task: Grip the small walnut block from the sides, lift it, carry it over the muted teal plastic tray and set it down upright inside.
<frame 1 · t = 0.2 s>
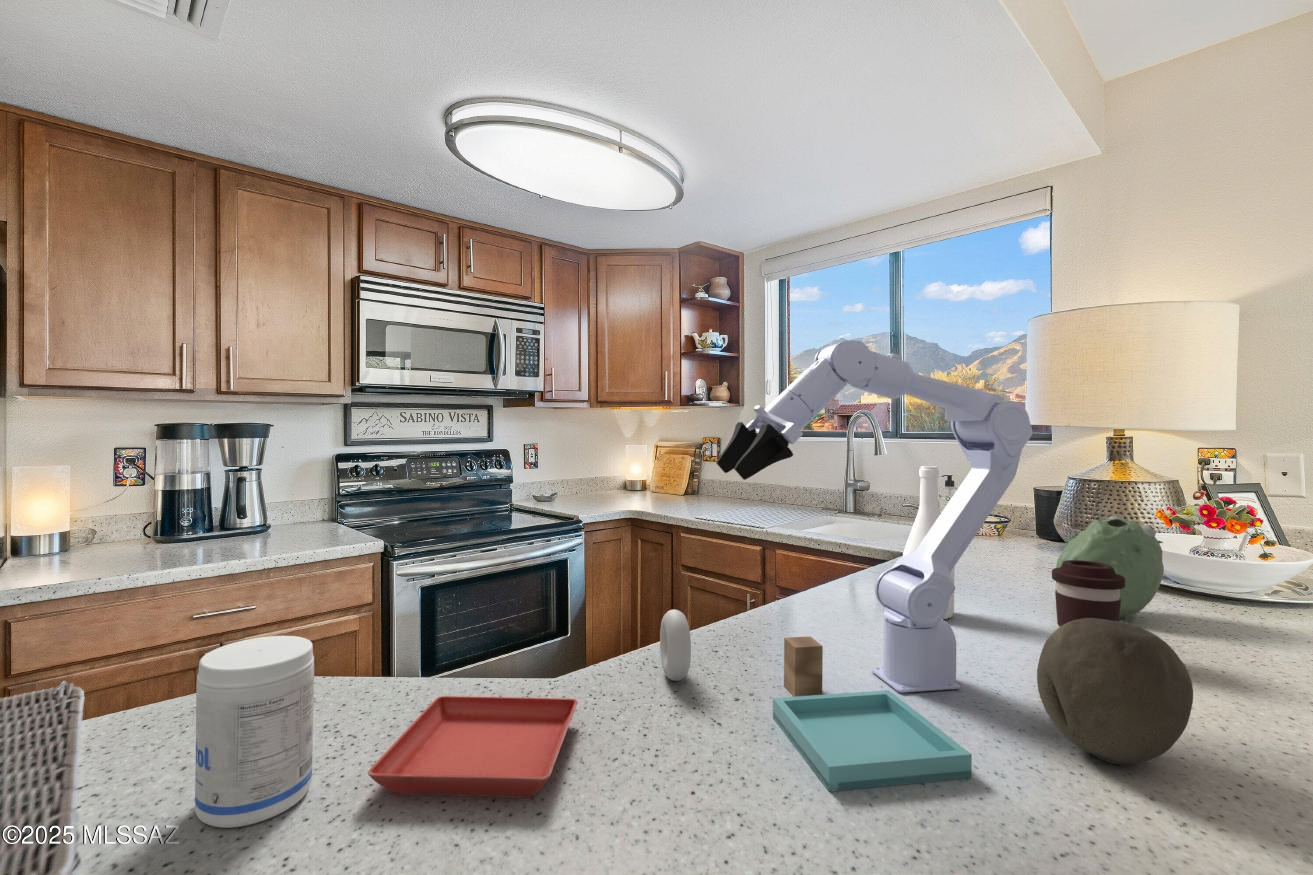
hand: (729, 471, 83), 31 cm above the countertop, tool tilted 45°, fingers open, 7 cm apart
block: (802, 691, 84), on the countertop
supplement tub: (256, 802, 58), on the countertop
coffee cup: (1086, 654, 100), on the countertop
grey river stone: (1109, 755, 68), on the countertop
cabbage: (1108, 616, 121), on the countertop
plant saucer: (485, 761, 67), on the countertop
donut: (674, 679, 89), on the countertop
tray: (862, 744, 70), on the countertop
wine bottle: (927, 615, 121), on the countertop
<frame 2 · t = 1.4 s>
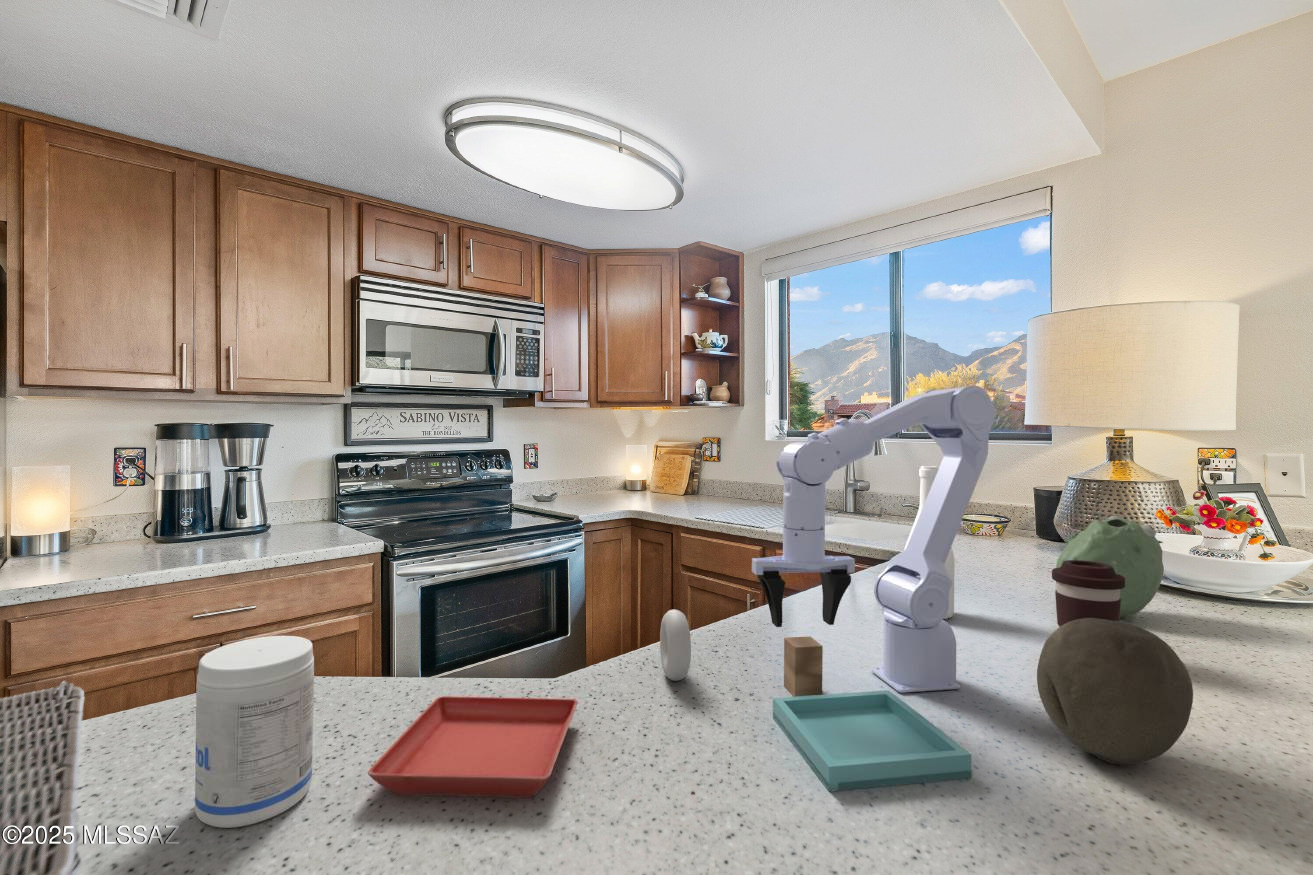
hand: (802, 623, 84), 9 cm above the countertop, tool pointing down, fingers open, 7 cm apart
nothing on the countertop moved.
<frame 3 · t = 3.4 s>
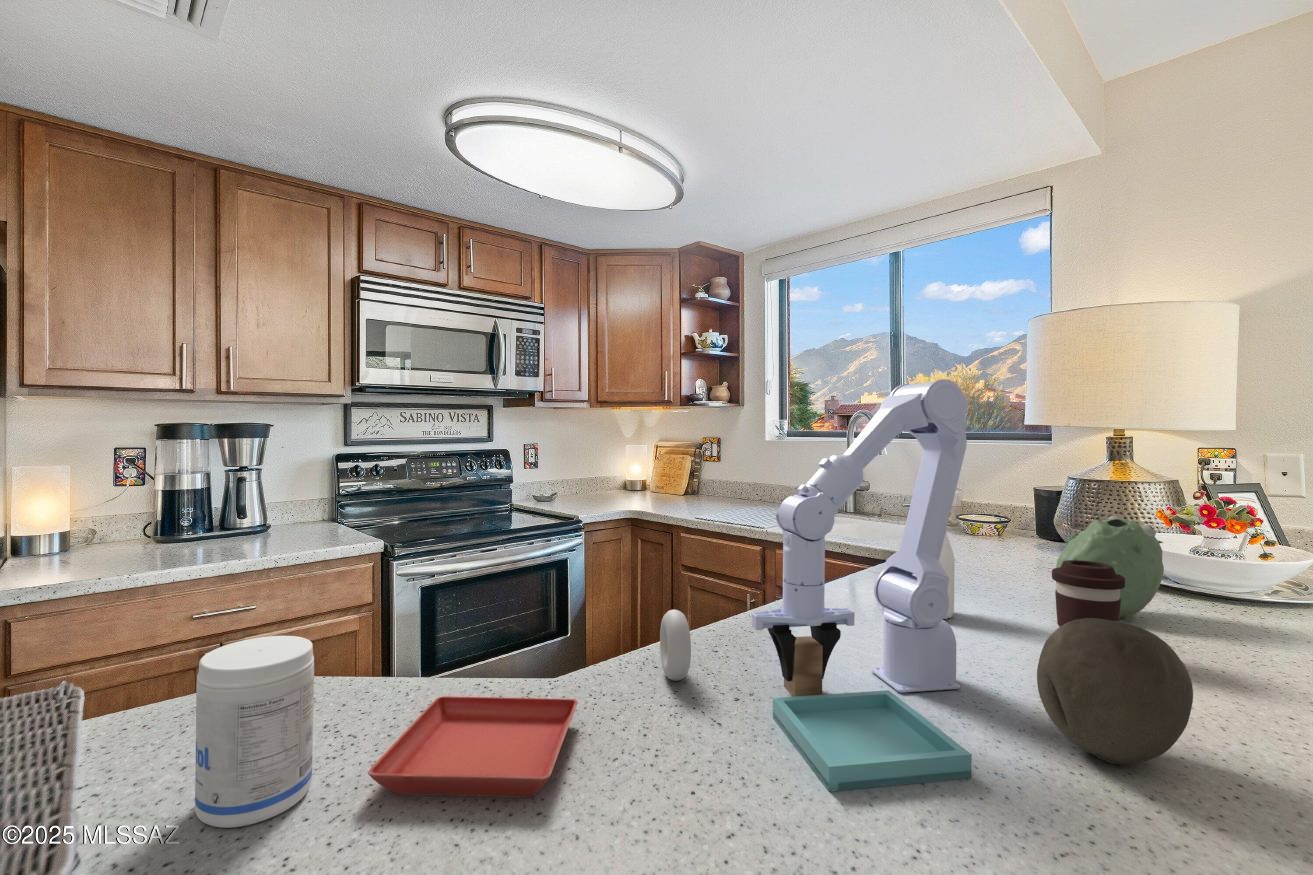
hand: (802, 677, 84), 2 cm above the countertop, tool pointing down, fingers closed on block, 4 cm apart
block: (802, 691, 84), on the countertop, touching gripper
everything else where it was.
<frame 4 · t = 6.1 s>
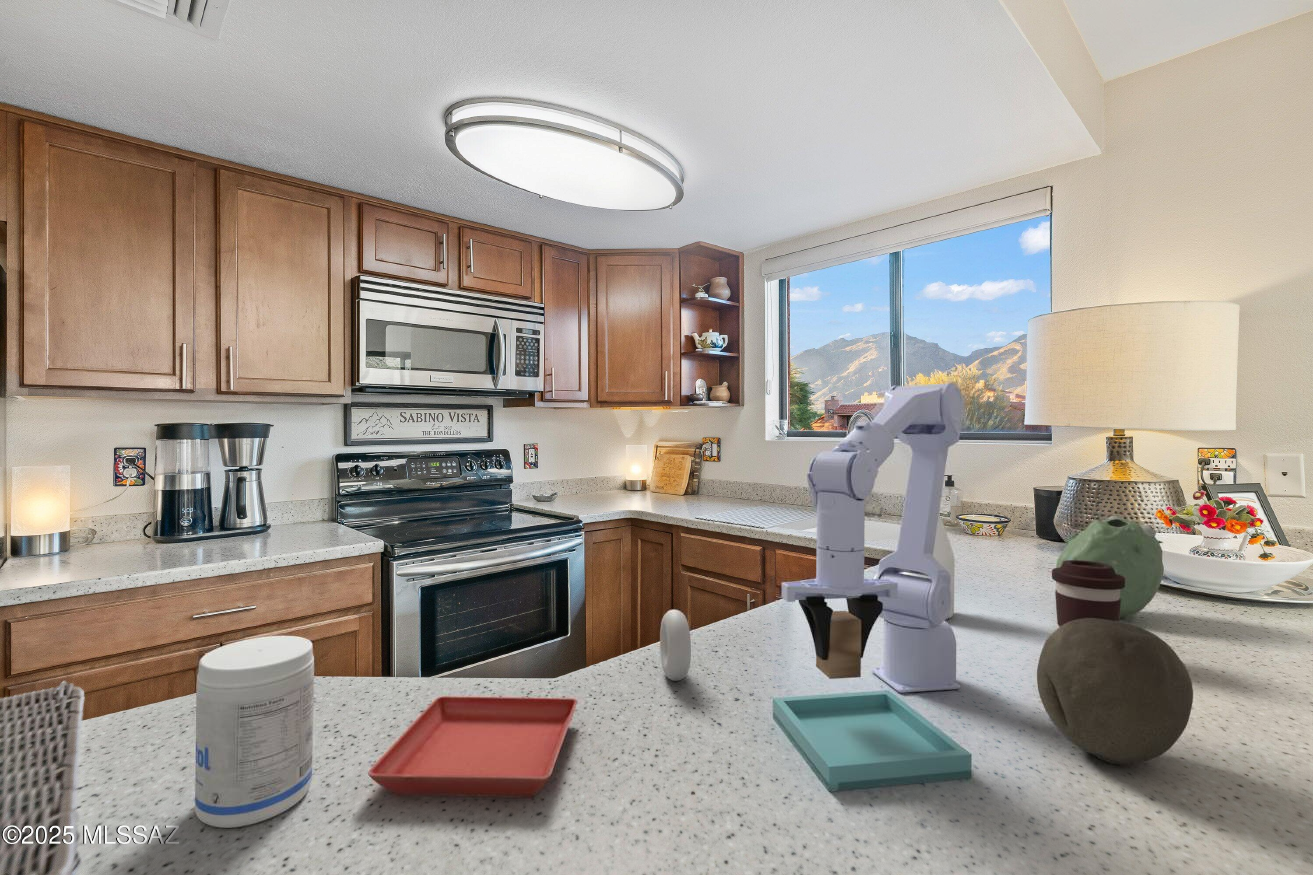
hand: (839, 656, 75), 8 cm above the countertop, tool pointing down, fingers closed on block, 4 cm apart
block: (837, 671, 75), point 6 cm above the countertop, touching gripper
everything else where it was.
when the fingers open (3 cm above the countertop, at t = 8.7 s): block stays where it is, resting on tray.
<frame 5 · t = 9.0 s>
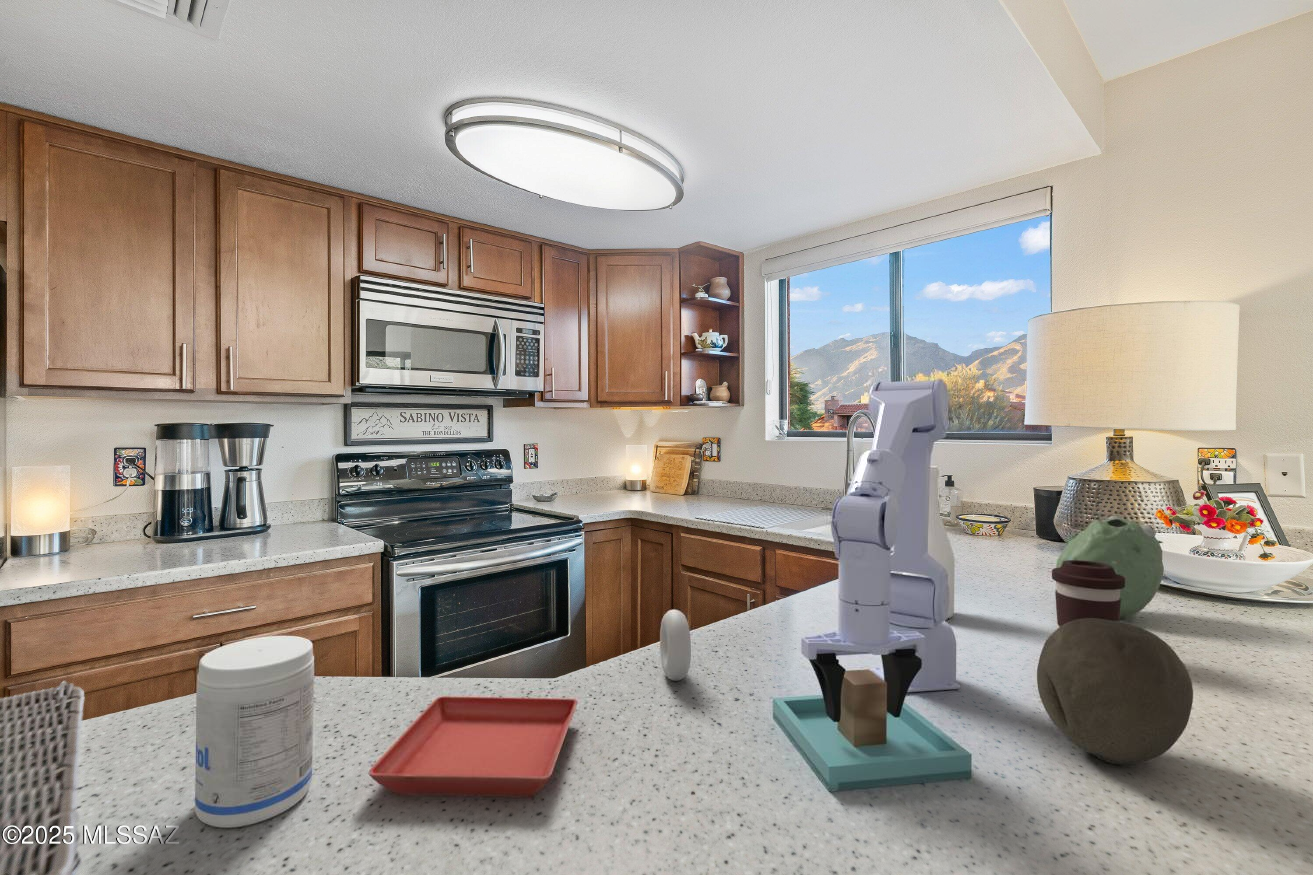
hand: (863, 715, 70), 3 cm above the countertop, tool pointing down, fingers open, 7 cm apart
block: (861, 736, 70), point 1 cm above the countertop, touching tray
everything else where it was.
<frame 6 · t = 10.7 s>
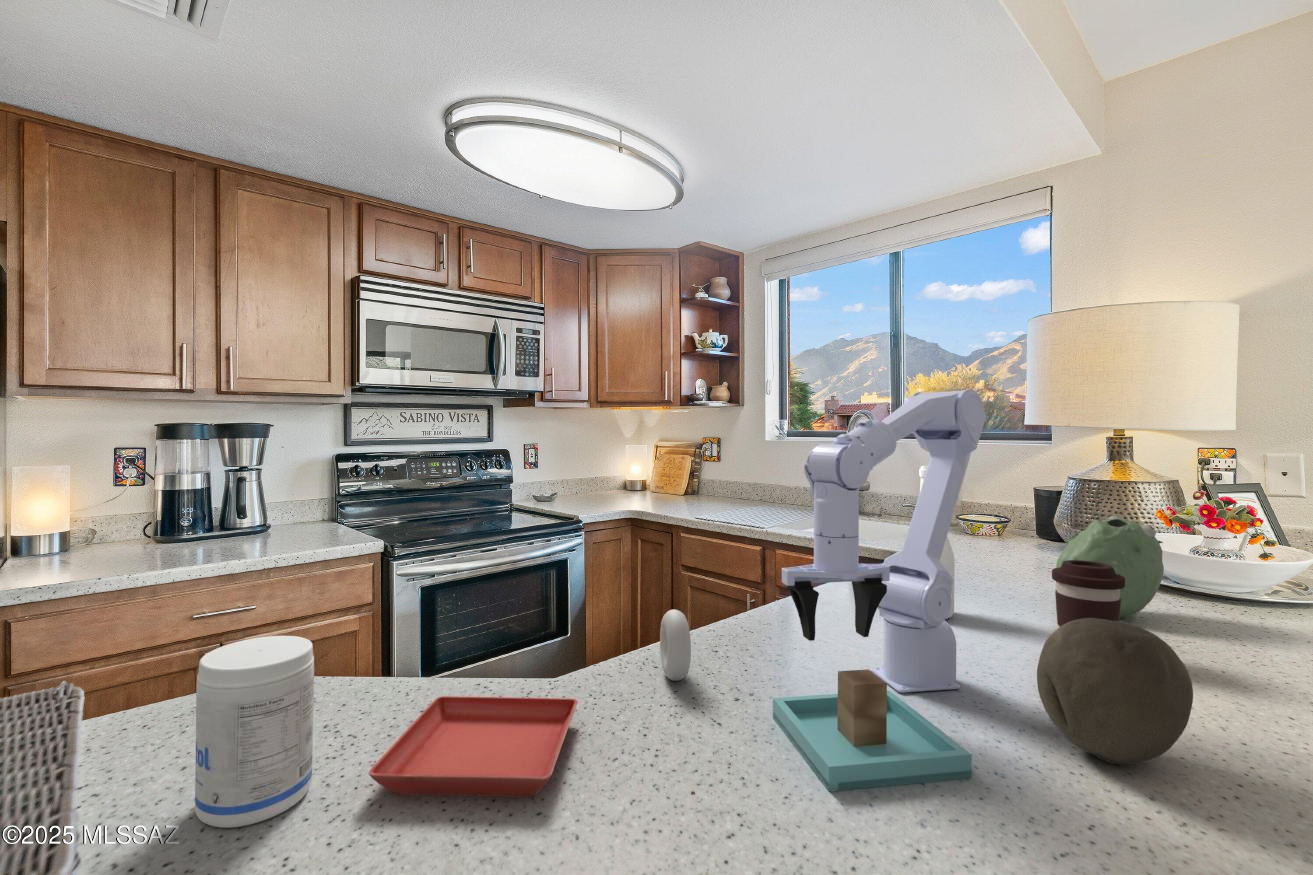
hand: (835, 636, 80), 9 cm above the countertop, tool pointing down, fingers open, 7 cm apart
nothing on the countertop moved.
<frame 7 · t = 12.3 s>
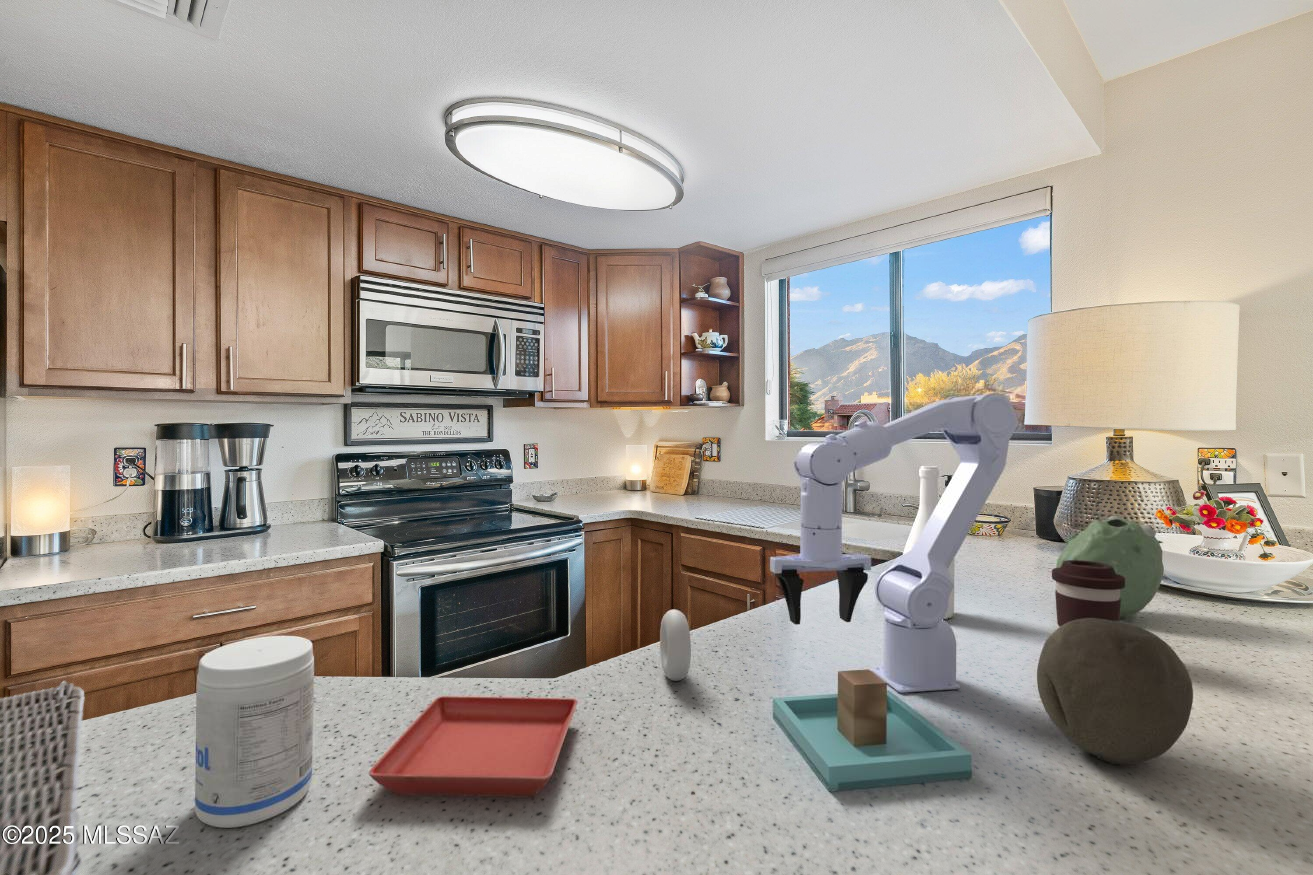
hand: (820, 621, 86), 9 cm above the countertop, tool pointing down, fingers open, 7 cm apart
nothing on the countertop moved.
at the end: block inside the target area on the tray (0.3 cm from its centre), point 0.8 cm above the tray's base; block tilted 0°; the gripper is holding nothing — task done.
